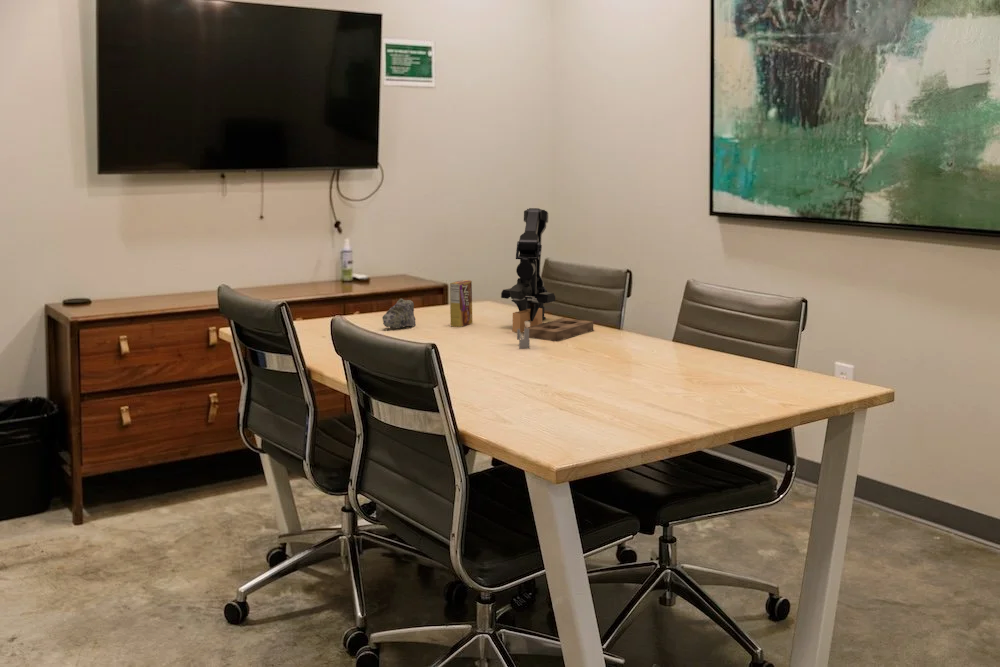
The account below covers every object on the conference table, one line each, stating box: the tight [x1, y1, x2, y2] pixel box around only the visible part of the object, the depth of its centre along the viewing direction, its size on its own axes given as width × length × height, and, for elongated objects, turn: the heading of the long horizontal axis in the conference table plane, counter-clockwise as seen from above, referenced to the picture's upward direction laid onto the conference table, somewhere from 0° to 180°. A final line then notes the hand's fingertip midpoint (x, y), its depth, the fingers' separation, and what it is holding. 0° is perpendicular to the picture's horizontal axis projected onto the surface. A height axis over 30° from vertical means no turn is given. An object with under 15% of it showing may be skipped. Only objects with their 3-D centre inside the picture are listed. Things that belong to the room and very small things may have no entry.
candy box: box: [449, 279, 473, 328], centre depth 358 cm, size 9×4×15 cm, turn 152°
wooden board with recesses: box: [527, 317, 594, 342], centre depth 345 cm, size 12×24×3 cm, turn 146°
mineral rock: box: [382, 298, 416, 329], centre depth 353 cm, size 13×11×10 cm
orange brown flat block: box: [512, 308, 543, 333], centre depth 352 cm, size 3×14×6 cm, turn 146°
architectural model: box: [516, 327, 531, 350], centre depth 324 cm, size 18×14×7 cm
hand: (527, 320), depth 352 cm, fingers closed on orange brown flat block, 3 cm apart
